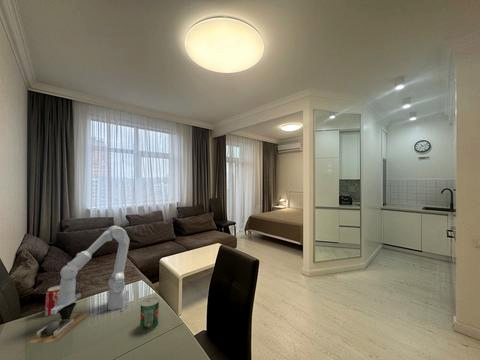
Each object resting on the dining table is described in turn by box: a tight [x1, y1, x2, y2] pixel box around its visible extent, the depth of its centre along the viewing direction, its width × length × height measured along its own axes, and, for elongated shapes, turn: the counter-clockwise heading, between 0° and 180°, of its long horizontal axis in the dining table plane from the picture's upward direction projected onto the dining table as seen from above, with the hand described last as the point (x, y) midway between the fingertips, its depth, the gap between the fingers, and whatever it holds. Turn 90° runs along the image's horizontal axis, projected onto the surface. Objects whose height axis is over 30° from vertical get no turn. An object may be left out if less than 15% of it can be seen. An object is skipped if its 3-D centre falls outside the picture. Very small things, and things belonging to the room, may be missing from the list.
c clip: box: [36, 318, 74, 338], centre depth 87 cm, size 8×8×2 cm
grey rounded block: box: [46, 318, 60, 336], centre depth 86 cm, size 4×4×4 cm
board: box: [24, 312, 92, 344], centre depth 91 cm, size 13×20×1 cm, turn 2°
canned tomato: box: [139, 296, 160, 332], centre depth 92 cm, size 8×8×11 cm
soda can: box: [44, 284, 60, 317], centre depth 102 cm, size 7×7×13 cm
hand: (65, 321), depth 93 cm, fingers closed
